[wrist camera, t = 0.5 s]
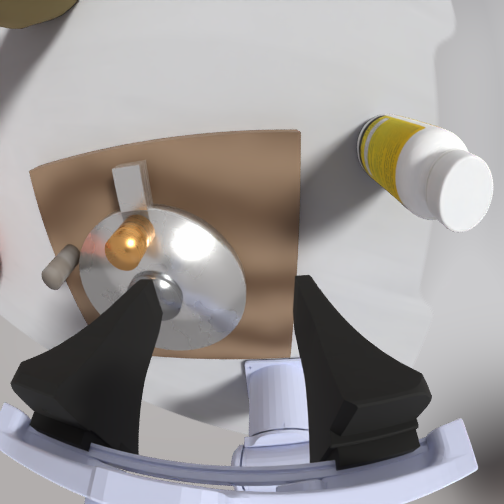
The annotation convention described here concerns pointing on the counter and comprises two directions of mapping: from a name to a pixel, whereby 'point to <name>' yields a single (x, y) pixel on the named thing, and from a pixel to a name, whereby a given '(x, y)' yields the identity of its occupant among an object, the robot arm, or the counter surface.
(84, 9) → the counter surface
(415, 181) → the supplement bottle
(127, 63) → the counter surface
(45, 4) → the squeeze bottle
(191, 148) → the post board
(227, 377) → the counter surface
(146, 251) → the silver rounded shallow piece
